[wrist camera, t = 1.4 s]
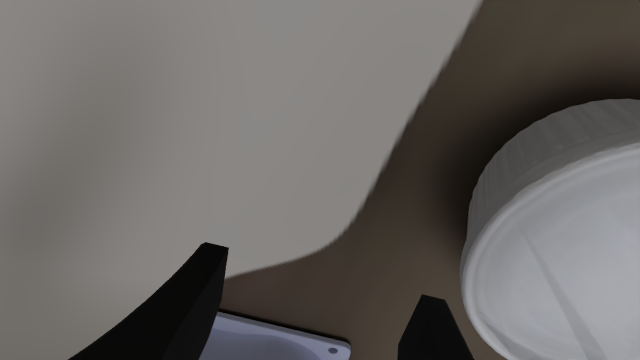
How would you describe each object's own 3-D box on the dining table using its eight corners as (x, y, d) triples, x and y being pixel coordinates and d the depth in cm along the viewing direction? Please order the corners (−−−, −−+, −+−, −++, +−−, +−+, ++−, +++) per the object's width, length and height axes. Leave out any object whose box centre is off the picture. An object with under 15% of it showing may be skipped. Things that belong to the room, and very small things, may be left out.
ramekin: (403, 241, 23) (407, 330, 18) (550, 20, 17) (608, 73, 12) (606, 321, 24) (656, 423, 20) (810, 142, 18) (948, 229, 14)
